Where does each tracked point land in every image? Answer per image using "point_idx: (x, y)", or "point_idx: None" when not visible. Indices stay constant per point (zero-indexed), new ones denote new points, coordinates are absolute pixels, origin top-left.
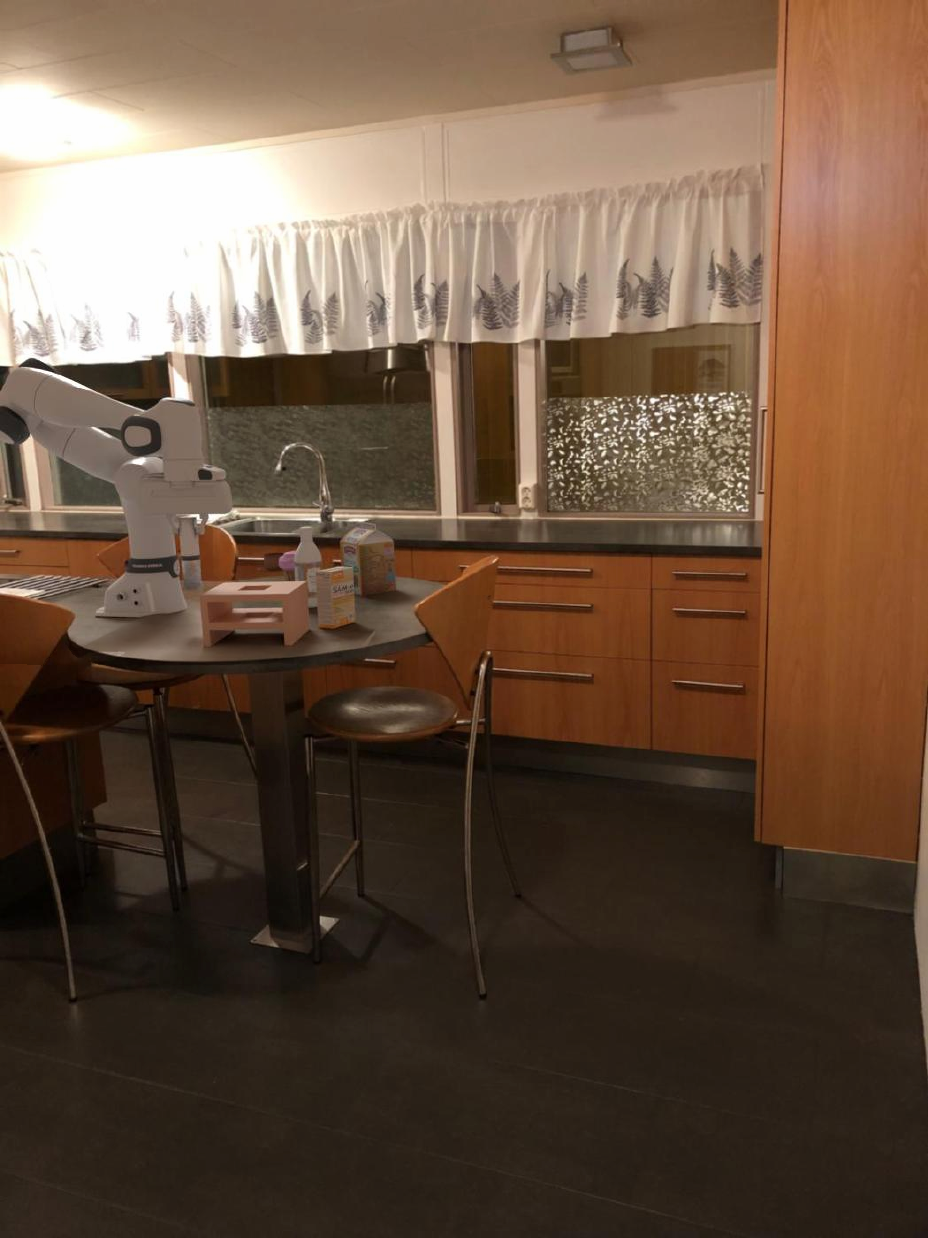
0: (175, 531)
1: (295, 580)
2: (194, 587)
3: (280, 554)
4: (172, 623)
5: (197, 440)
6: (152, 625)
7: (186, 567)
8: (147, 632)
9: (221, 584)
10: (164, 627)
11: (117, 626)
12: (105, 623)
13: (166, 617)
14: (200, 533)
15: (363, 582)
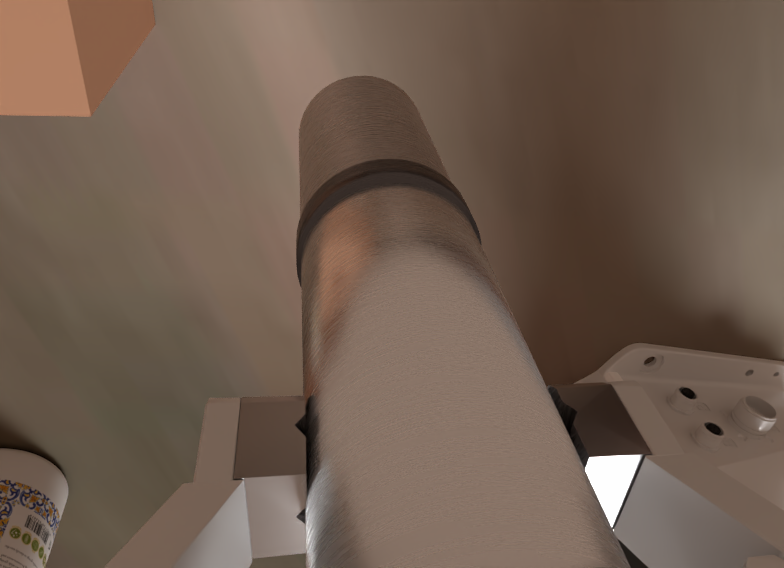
0: (609, 404)
1: (25, 562)
2: (331, 89)
3: None
4: (497, 204)
5: None
6: (579, 170)
7: (397, 139)
8: (578, 13)
9: (57, 14)
10: (516, 123)
11: (726, 161)
12: (775, 220)
13: (547, 311)
14: (234, 399)
15: None
